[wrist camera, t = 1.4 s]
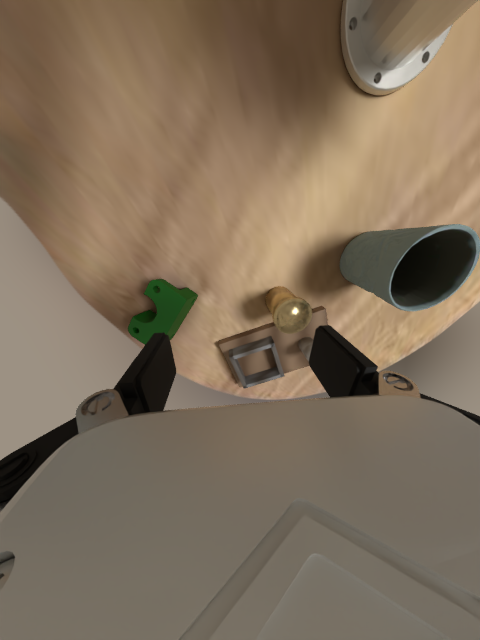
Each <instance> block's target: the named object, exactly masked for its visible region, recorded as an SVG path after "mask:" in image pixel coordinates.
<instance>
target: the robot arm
mask: <svg viewBox="0 0 480 640" xmlns="http://www.w3.org/2000/svg"><path fill="white" fill-rule="evenodd" d="M477 1H478V0H343V5H342V15H341V45H342V52H343V57H344V61H345V64H346V67H347V70H348V72H349V74H350V76H351V78H352V80H353V81H354V82H355V83H356V84H357V86H358V87H359V88H361V89H362V90H364V91H365V92H366V93H370V94H373V95H386V94H389V93H393V92H395V91H397V90H399V89H401V88H402V87H404V86H405V85H406V84H408V83H409V82H410V81H412V80H413V79H414V78H415V77H416V76H417V75H418V74H420V73H421V72H422V71H423V70H424V69H425V68H426V66H427V65H428V64H429V63H430V61H431V60H432V59H433V58H434V57H435V55H436V53H437V52H438V50H439V49H440V47H441V46H442V44H443V42H444V41H445V39H446V37H447V35H448V33H449V31H450V29H451V27H452V25H453V23H454V22H455V21H456V20H457V19H458V18H459V17H460V16H462V15H463V14H464V13H465V12H466V11H467V10H468V9H469V8H470V7H471V6H472V5H473V4H475V3H476V2H477ZM309 365H310V367H311V369H312V370H313V372H314V373H315V375H316V376H317V378H318V379H319V381H320V382H321V384H322V385H323V387H324V389H325V390H326V392H327V393H328V395H329V396H330V398H316V399H303V400H289V401H275V402H264V403H249V404H237V405H225V406H213V407H200V408H188V409H177V410H167V411H163V409H164V407H165V404H166V401H167V398H168V395H169V392H170V389H171V386H172V384H173V381H174V378H175V375H176V367H175V362H174V358H173V353H172V348H171V344H170V339H169V336H168V335H166V334H165V333H154V334H153V335H152V336H151V338H150V339H149V341H148V342H147V343H146V345H145V346H144V348H143V349H142V350H141V352H140V353H139V355H138V356H137V357H136V358H135V360H134V361H133V362H132V364H131V365H130V367H129V368H128V369H127V371H126V372H125V374H124V375H123V376H122V378H121V379H120V381H119V382H118V383H117V385H116V386H115V388H114V389H106V390H102V391H99V392H96V393H94V394H93V395H91V396H89V397H88V398H86V399H85V400H84V401H83V402H82V403H81V404H80V405H79V406H78V408H77V410H76V417H75V418H73V419H72V420H70V421H68V422H66V423H64V424H63V425H61V426H59V427H57V428H55V429H54V430H52V431H50V432H48V433H47V434H45V435H43V436H41V437H39V438H38V439H36V440H34V441H32V442H30V443H29V444H27V445H25V446H23V447H22V448H20V449H18V450H16V451H14V452H13V453H11V454H9V455H8V456H6V457H5V458H3V459H2V460H0V640H480V416H477V415H475V414H472V413H470V412H467V411H465V410H462V409H459V408H457V407H454V406H452V405H449V404H446V403H444V402H441V401H439V400H436V399H434V398H431V397H428V396H425V395H423V394H420V393H419V389H418V387H417V385H416V384H415V383H414V382H413V381H412V380H410V379H409V378H407V377H405V376H403V375H401V374H399V373H396V372H392V371H381V372H380V373H378V372H377V371H376V370H377V368H378V366H377V365H375V364H374V363H373V362H372V361H371V360H370V359H368V358H367V357H366V356H365V355H364V354H363V353H361V352H360V351H359V350H358V349H357V348H355V347H354V346H353V345H352V344H351V343H350V342H348V341H347V340H346V339H345V338H344V337H343V336H341V335H340V334H339V333H338V332H337V331H336V330H334V329H333V328H332V327H331V326H329V325H321V326H319V327H318V328H316V330H315V335H314V339H313V344H312V348H311V353H310V358H309Z"/></svg>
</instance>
